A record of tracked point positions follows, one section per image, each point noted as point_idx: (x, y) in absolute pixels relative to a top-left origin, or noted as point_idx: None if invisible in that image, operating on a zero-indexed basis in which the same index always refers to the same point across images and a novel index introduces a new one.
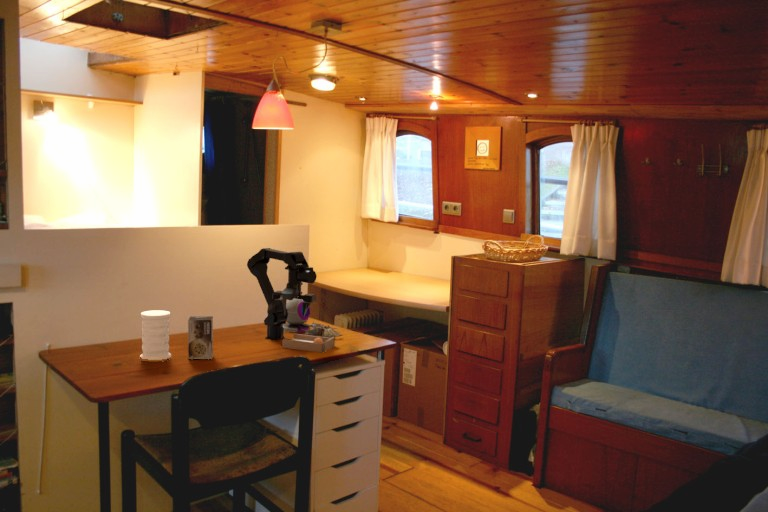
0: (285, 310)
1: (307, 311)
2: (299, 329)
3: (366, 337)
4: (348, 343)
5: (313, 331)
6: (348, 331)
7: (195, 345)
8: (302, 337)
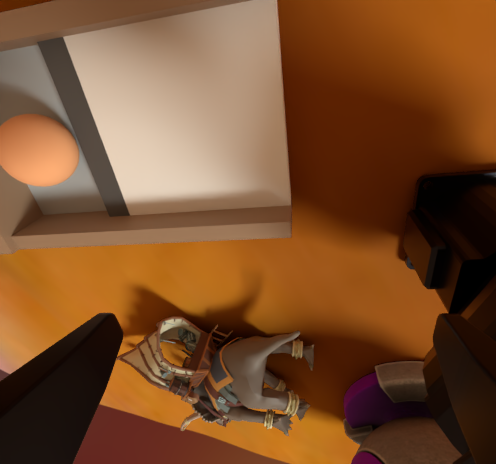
0: (464, 415)
1: None
2: (371, 388)
3: None
4: (46, 295)
5: (242, 348)
6: (186, 427)
7: None
8: (219, 217)
